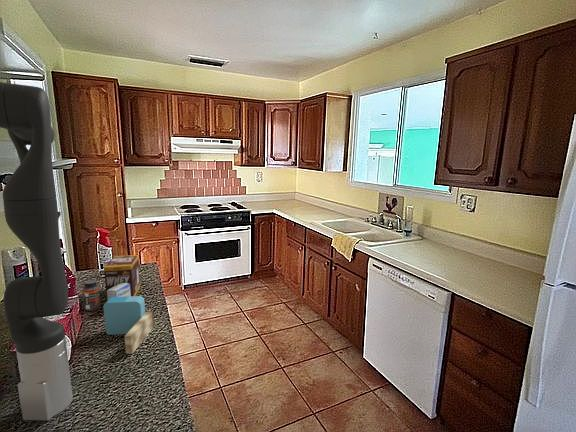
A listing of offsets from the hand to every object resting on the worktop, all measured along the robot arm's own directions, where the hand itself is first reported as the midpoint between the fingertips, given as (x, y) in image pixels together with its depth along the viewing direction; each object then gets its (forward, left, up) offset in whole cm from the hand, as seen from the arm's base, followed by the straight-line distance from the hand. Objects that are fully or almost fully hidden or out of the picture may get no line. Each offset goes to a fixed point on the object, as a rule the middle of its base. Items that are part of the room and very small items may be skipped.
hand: (46, 243), depth 99 cm
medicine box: (+24, -8, -33) cm, 42 cm away
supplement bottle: (+22, +2, -33) cm, 40 cm away
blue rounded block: (+6, -20, -33) cm, 39 cm away
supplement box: (+36, -4, -33) cm, 49 cm away
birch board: (+1, -27, -33) cm, 43 cm away
